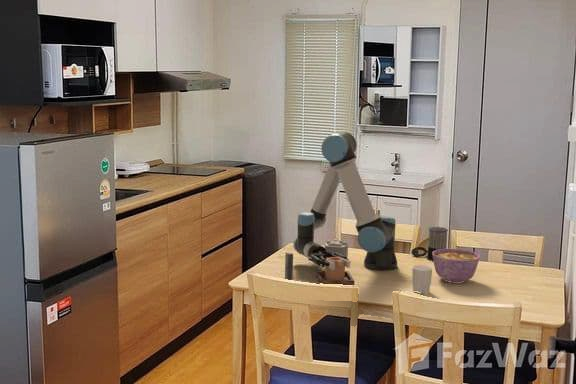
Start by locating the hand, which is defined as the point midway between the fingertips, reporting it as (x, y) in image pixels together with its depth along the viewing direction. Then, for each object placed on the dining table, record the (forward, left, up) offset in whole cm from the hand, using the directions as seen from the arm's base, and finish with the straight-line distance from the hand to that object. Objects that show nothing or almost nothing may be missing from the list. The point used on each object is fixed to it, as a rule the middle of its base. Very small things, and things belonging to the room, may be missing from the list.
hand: (341, 265), depth 297 cm
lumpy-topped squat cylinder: (-5, -42, -8) cm, 43 cm away
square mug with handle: (+2, -5, -7) cm, 9 cm away
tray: (+2, -5, -8) cm, 10 cm away
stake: (+21, -10, -8) cm, 24 cm away
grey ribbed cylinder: (-50, -42, -8) cm, 66 cm away
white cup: (-31, +10, -8) cm, 34 cm away
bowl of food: (-50, -5, -8) cm, 51 cm away
